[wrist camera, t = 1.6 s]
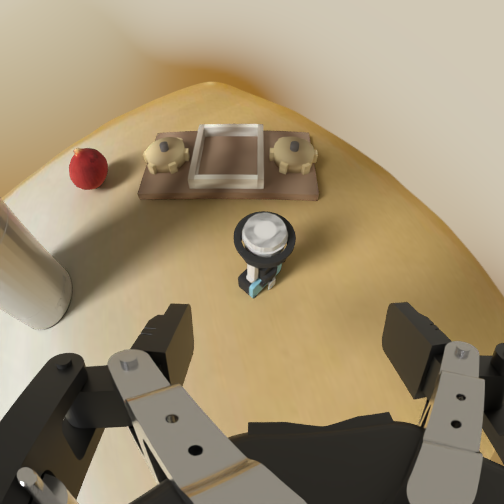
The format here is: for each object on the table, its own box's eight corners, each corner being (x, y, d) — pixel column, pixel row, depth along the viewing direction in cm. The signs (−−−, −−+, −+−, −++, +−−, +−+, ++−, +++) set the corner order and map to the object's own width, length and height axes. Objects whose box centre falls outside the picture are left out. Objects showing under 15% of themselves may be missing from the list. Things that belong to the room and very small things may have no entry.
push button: (267, 243, 37) (272, 187, 28) (302, 270, 35) (318, 219, 27) (227, 280, 35) (219, 231, 26) (263, 312, 33) (268, 270, 24)
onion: (103, 166, 44) (86, 129, 37) (120, 183, 42) (103, 143, 35) (75, 189, 42) (54, 153, 35) (90, 207, 40) (68, 169, 33)
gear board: (137, 199, 40) (129, 179, 37) (157, 138, 47) (152, 118, 43) (319, 200, 40) (325, 179, 37) (309, 138, 47) (313, 117, 43)
